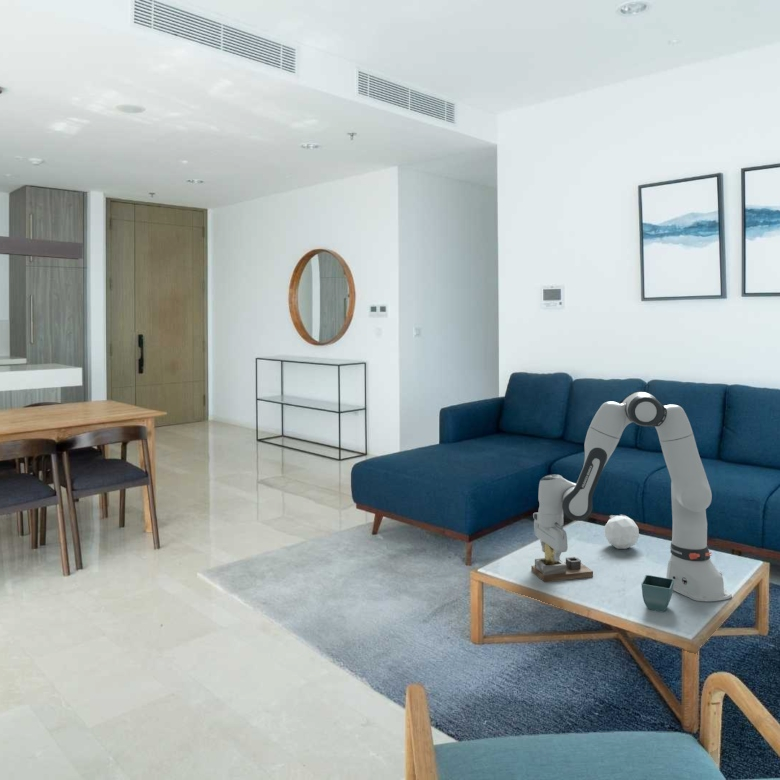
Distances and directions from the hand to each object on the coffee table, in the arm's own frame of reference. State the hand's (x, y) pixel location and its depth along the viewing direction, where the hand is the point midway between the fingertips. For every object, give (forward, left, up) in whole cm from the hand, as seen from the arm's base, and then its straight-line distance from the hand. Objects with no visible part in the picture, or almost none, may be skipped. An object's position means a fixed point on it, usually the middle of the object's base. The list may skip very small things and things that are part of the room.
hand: (550, 556), depth 251 cm
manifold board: (0, -4, -7) cm, 8 cm away
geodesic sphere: (+20, -40, -7) cm, 46 cm away
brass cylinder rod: (0, 0, -5) cm, 5 cm away
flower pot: (-35, -20, -7) cm, 41 cm away
